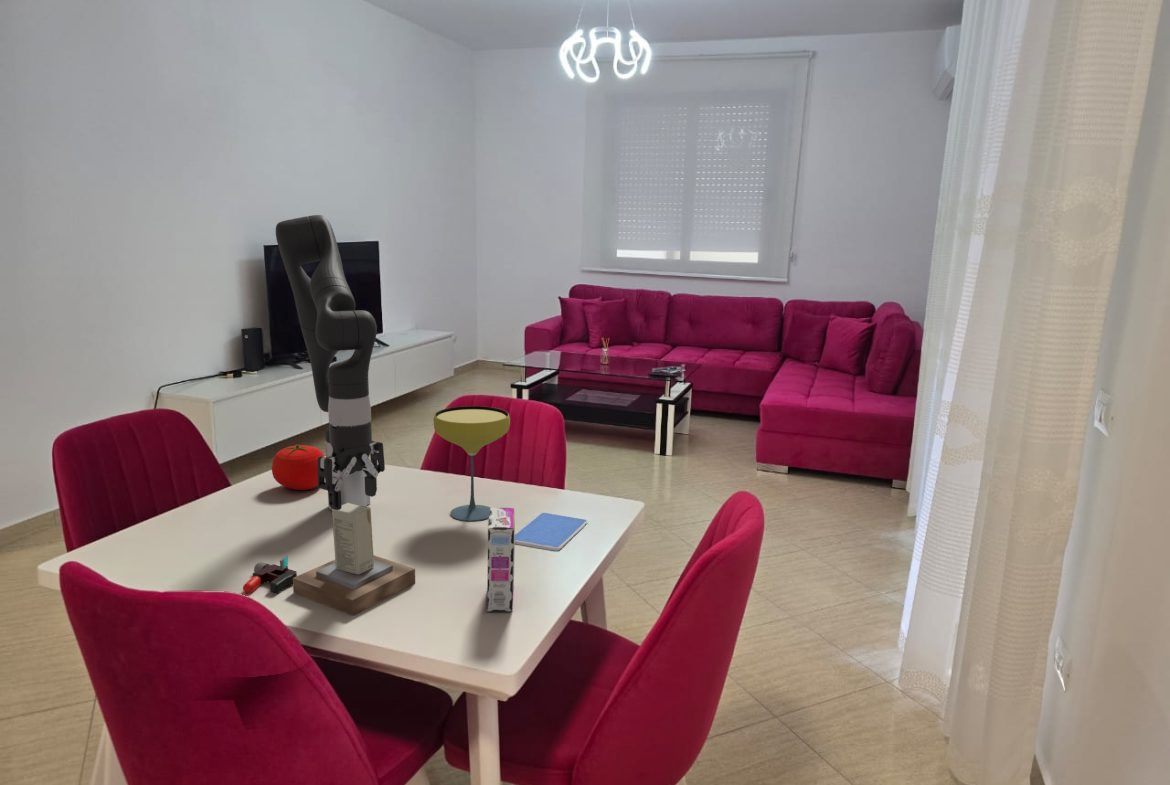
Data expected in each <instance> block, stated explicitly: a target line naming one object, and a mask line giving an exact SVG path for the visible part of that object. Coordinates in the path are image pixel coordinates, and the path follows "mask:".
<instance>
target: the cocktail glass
mask: <svg viewBox="0 0 1170 785" xmlns="http://www.w3.org/2000/svg"><path fill="white" fill-rule="evenodd" d="M510 426H511V417H510V414H509V412H508V411H507V410H504V409H502V408H499V407H498V408H497V407H491V406H484V405H483V406H481V405H466V406H465V405H464V406H455V407H448V408H443V409H441V410H439V411H436V412H435V413H434V416H433V429H434V431H435V433H436V434H437V435H438V436H439V437H441V438H442V439H444V440H445V441H447V442H450V443H451V444H454V445H456V446H459V447H461V448H462V449H463V450H464V451H465V453H466V454H467V455H469V456H470V500H469V504H464V505H460V506H457V507H454V508H452V509H451V511H450V512H449V515H450V516H451V518H453V519H455V520H457V521H462V522H481V521H485V520H489V513H490V508H491V506H488V505H482V504H476V500H475V488H474V487H475V486H474V485H475V483H474V482H475V481H474V471H475V470H474V456H476V455H477V454H478V453H479V452H480V450H481V449H482V448H483V447H484V446H486V445H489V444H492V443H493V442H495V441H497V440H499V439H501V438H503V436H505V435H506V434H507V433H508V432H509V429H510Z"/></svg>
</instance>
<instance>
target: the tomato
mask: <svg viewBox="0 0 1170 785" xmlns="http://www.w3.org/2000/svg"><path fill="white" fill-rule="evenodd" d="M320 456H321V457H325V455H324V453H323V452H322V450H320V449H319V448H317V447H315V446H311V445H304V444H302V445H301V444H295V445H291V446H287V447H284V448H281V449H280V450H279V451H277V453H276V454H275V455H274V456H273V459H272V464H271V474H272V478H273V479H274V480H275V481H276V482H277V483H278V484H280V486H283V487H285V488H287V489H291V490H296V491H297V490H298V491H306V490H307V491H308V490H311V489H314V488H317V487H318V458H319V457H320Z"/></svg>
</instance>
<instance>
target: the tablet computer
mask: <svg viewBox="0 0 1170 785" xmlns="http://www.w3.org/2000/svg"><path fill="white" fill-rule="evenodd" d="M587 522H588V523H589V520H587V519H585V518H579V517H572V516H567V515H560V514H555V513H554V514H552V513H547V512H540V513H539V514H538V515H536V517H535V518H533V519H532V520H531V521H529V523H527V524H526V525H525V526H524V527H522V528H521V529H519V530H518V531H517V532H516V533H515V545H520V546H525V547H530V548H537V549H542V550H548V551H554V552H558V551H560V550H562V548H563V547H564V546H566V544H567V543H569V541H570V540H572V538H574V537H575V536H576V535H577V534H578V533H579V532H580V531H581V530H582V529H584V527H586V525H587V524H586V523H587ZM585 524H586V525H585Z"/></svg>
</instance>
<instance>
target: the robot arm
mask: <svg viewBox="0 0 1170 785" xmlns="http://www.w3.org/2000/svg"><path fill="white" fill-rule="evenodd" d="M275 237H276V239H275V240H276V243H277V247H278V251H279V254H280V256H281V260H282V263H283V265H284V269H285V271H286V274H287V277H288V281H289V284H290V287H291V291H292V295H293V297H294V298H293V299H294V304H295V308H296V312H297V317H298V322H299V326H300V329H301V333H302V337H303V339H304V344H305V348H306V350H307V354H308V357H309V362H310V367H311V371H312V377H313V378H312V379H313V386H314V392H315V397H316V402H317V405H318V407H319V408H320V410H321V411H322V412H325V413H328V416H327V417H328V428H326V430H325V433H324V435H325V456H324V457H321V456H320V457H319V458H318V486H317V488H318V489H319V490H325V491H327V501H328V510H330V511H331V512H332V509H334V510H340V509H341V508H342V505H344V504H346V503H351V504H356V505H361V506H365V507H368V505H370V504H371V498H373V497H376V495H377V491H378V486H377V485H378V484H377V483H378V478H377V477H378V476H379V474H380V473H381V472H382V473H383V472H384V471H385V470H386V466H385V465H386V464H385V455H384V444H383V442H380V441H375V440H373V433H372V432H373V431H372V430H373V429H372V427H373V426H372V406H371V402H370V401H371V400H370V392H369V390H370V387H369V384H370V383H369V370H370V363H371V358H372V354H373V350H374V346H375V343H376V339H377V332H378V325H377V323H376V318H375V317H374V316H373V315H372V313H370V312H369V311H367V310H363V309H362V310H356V300H355V298H354V296H353V293H352V290H351V289H350V286H349V283H348V282H347V279H346V275H345V272H344V267H343V262H342V258H341V253H340V251H339V250H340V249H339V246H338V242H337V239H336V236H335V232H334V230H333V228H332V224H331V223H330V221H329V219H328V218H326V216H324V215H322V214H313V215H308V216H300V217H296V218H292V219H291V218H290V219H286V220H285V219H284V220H283V221H279V222H278V223H277V224H276V226H275ZM316 262H319V264H318V265H317V266H316V268H315V270H314V272H313V273H312V276H311V278H310V277H309V275H307V273H306V271H305V270H304V269H303V267H302V265H306V264H312V263H316ZM352 350H354V351H353V353H352V355H351V357H350V358H347V359H345V360H342V361H339V362H336V363H333V364H331V363H332V362H333V360H334V358H335V356H336V355H337V353H338V351H352ZM369 457H370V458H369Z"/></svg>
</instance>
